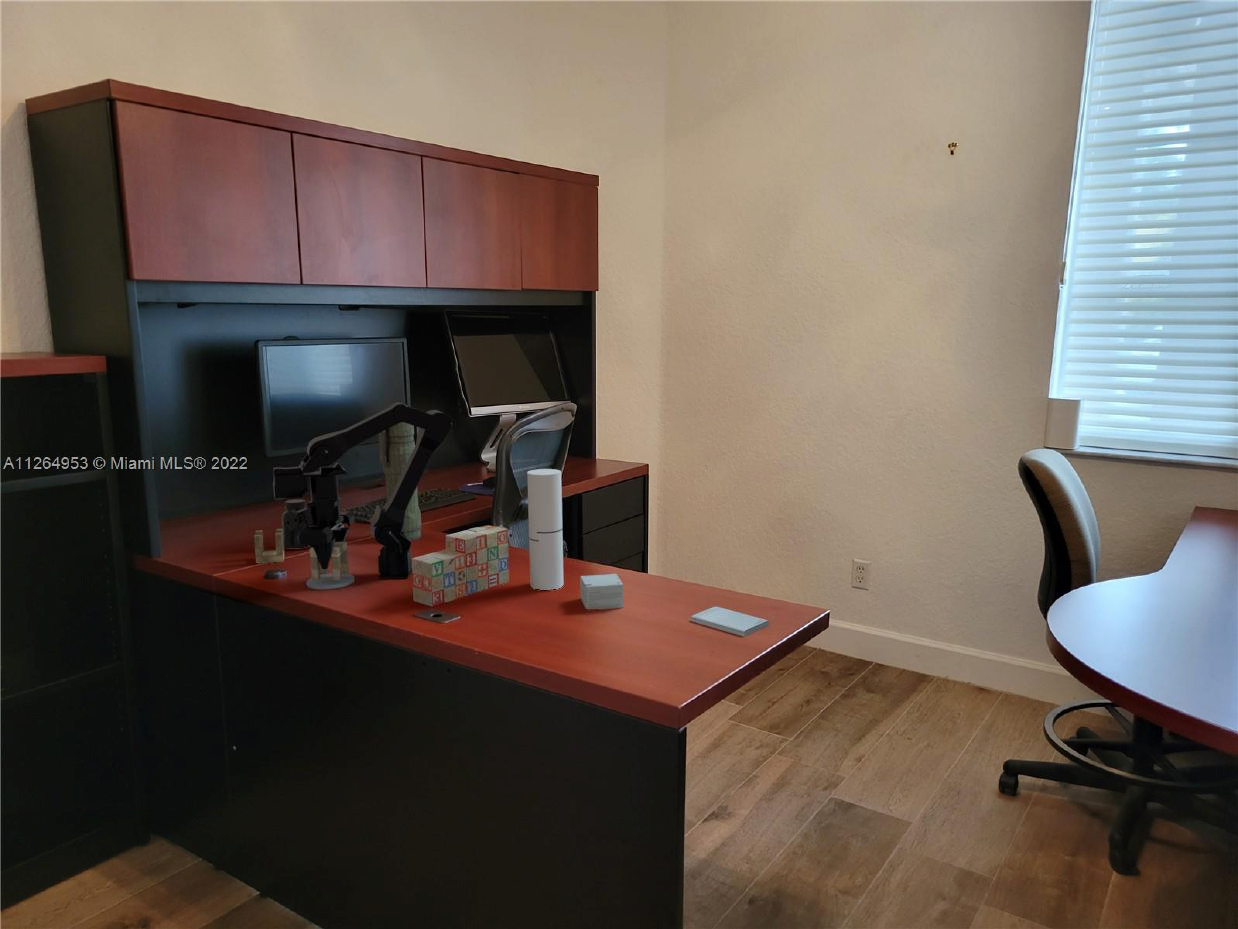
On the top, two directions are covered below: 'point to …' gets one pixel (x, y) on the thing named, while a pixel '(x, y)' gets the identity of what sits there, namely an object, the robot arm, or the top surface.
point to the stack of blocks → (462, 566)
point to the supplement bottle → (291, 535)
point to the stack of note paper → (602, 591)
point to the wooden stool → (338, 562)
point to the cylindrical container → (545, 529)
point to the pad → (330, 582)
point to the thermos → (400, 469)
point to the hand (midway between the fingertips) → (329, 565)
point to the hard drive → (729, 621)
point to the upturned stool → (272, 554)
